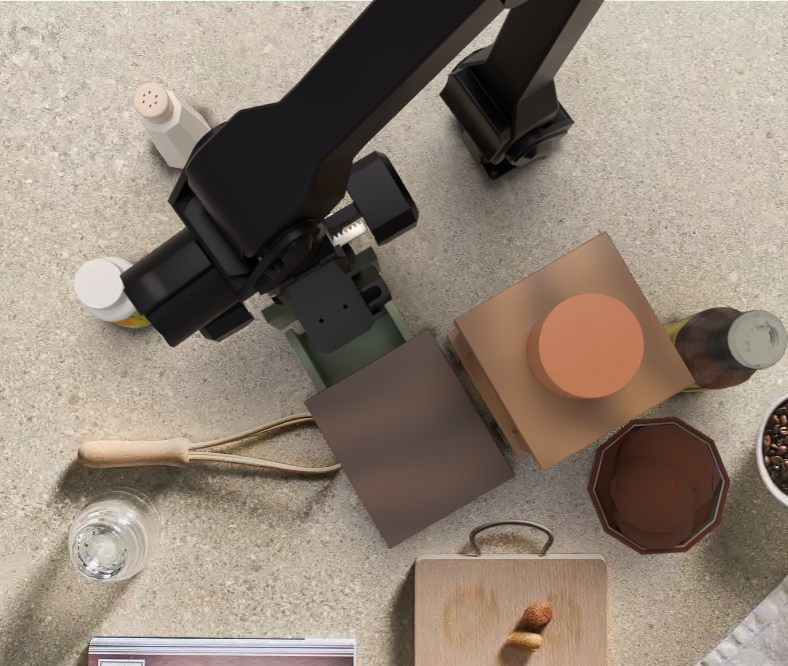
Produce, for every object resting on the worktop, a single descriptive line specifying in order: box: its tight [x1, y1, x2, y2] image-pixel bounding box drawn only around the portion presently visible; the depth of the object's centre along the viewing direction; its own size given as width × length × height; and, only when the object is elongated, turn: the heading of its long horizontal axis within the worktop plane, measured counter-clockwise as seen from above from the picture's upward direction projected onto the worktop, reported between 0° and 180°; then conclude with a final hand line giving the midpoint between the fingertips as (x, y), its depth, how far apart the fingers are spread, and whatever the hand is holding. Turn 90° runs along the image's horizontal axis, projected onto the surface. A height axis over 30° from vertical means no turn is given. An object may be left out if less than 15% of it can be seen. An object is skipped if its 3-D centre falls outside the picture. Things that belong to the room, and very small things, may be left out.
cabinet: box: [303, 328, 516, 550], centre depth 74 cm, size 14×12×9 cm
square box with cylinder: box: [445, 230, 695, 472], centre depth 67 cm, size 11×11×24 cm
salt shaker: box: [132, 81, 212, 170], centre depth 74 cm, size 5×5×11 cm
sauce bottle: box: [663, 306, 788, 393], centre depth 68 cm, size 7×6×20 cm
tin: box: [527, 293, 644, 399], centre depth 52 cm, size 6×6×5 cm
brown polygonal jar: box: [586, 416, 731, 556], centre depth 71 cm, size 11×11×15 cm
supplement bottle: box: [73, 255, 152, 329], centre depth 74 cm, size 5×5×10 cm
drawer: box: [260, 245, 415, 394], centre depth 74 cm, size 17×10×7 cm, turn 30°
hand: (308, 265), depth 75 cm, fingers closed, pressing on drawer
